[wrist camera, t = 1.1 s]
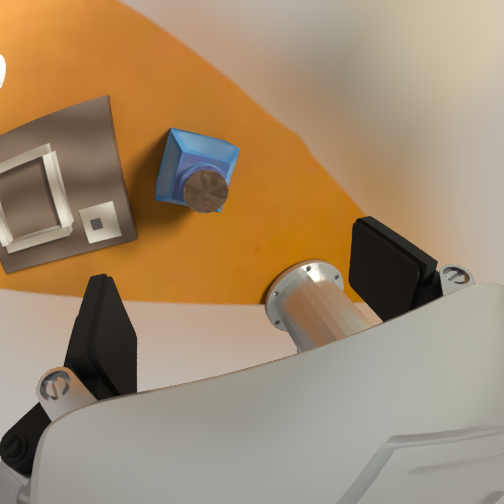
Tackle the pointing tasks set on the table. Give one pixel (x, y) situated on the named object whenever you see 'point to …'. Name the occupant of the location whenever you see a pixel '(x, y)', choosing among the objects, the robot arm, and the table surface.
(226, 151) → the perfume bottle
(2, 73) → the champagne flute
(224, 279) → the table surface
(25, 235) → the board
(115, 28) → the table surface
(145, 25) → the table surface
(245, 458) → the robot arm
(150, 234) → the table surface
